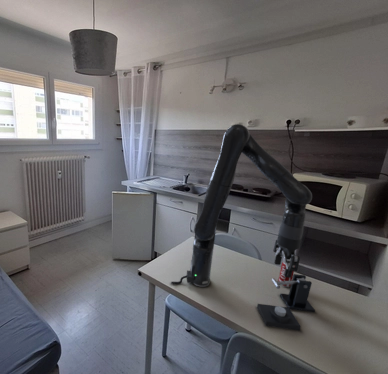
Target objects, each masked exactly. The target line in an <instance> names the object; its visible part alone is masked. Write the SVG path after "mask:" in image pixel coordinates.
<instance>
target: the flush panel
mask: <svg viewBox="0 0 388 374" xmlns="http://www.w3.org/2000/svg"><path fill="white" fill-rule="evenodd" d="M276 306H277V305H271V304H263V303H257V307H256V309H257V311H258V313H259V315H260V318H261V319H262V323H264V326H265V327H269V328H270V327H271V328H278V329H285V330H292V331H300V330H301V328H302V327H301V326H302V325H301V324H300V323H299V320H297V318H296V316H295V314H293V312H292V310H291V309H289V308H288V307H287V306H280V305H279V306H280V307H283V308H284V309H285V310H286V315H285V316H284V317H281V316H279V315H277V314H276V313H275V307H276Z"/></svg>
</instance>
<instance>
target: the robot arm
mask: <svg viewBox="0 0 388 374" xmlns="http://www.w3.org/2000/svg"><path fill="white" fill-rule="evenodd" d="M242 154H243V155H244V156H245V157H247V159H249V161H250V162H251V163H252V164H253V165H254V166H255V167H256V168H257V170H258V171H259V172H260V173H261V174H262V175H263V176H264V177H265V178H266V179H267V180H268V181H269V182H270V183H271V184H273V185H274V186H275V187H276V188H277V189H278V190H279V191H280V192H281V193H282V194H283V195H284V197H285V203H284V205H285V206H284V210H283V213H282V218H281V223H280V226H279V230H278V234H277V239H275V242H274V246H273V250H272V251H273V253H274V255H275V258H274V263H273V264H275V265H276V266H280V265H282V259H283V261H284V263H286V269H285V274H284V276H285V277H288V278H290V277H291V275H292V271H294V272H298V271H299V264H300V259H301V258H300V256H298V255H296V250H299V249H300V247H301V243H302V238H303V235H304V226H305V222H306V217H307V214H306V208H307V206H308V205H309V204H310V203H311V202H312V200H313V193H312V192H311V190H310V189H309V187H308V186H306V185H305V184H303V183H302V182H301V181H299V180H298V179H297V178H295V176H294V174H293V173H292V172H291V171H289V169H287V168H286V167H285V166H284V165H283V164H282V163H281V162H280V161H279V160H278V159H276V158H275V157H274V156H273V155H271V154H270V153H269V152H268V151H266V150H265V148H263V147H262V146H261V145H260V144H259V143H258V142H257V140H256V139H255V137H253V136H252V134H251V133H250V130H249V128H247V127H246V126H245V125H243V124H241V123H235V124H232V125H230V126H229V127H227V128H226V129H225V131H224V133H223V137H222V142H221V147H220V151H219V155H218V158H217V161H216V163H215V165H214V168H213V169H212V173H211V175H210V177H209V182H208V184H207V188H206V191H205V194H204V199H203V204H202V210H201V212H200V214H199V216H198V218H197V220H196V221H195V224H194V227H193V233H194V238H193V244H192V255H191V259H190V267H189V268H190V269H189V270H188V269H187V270H186V275H182V276H181V277H180V280H179V281H171V282H170V284H171V285H179V284H182V283H183V280H184V279H186V283H189V284H190V285H191V284H192V285H194V286H196V287H199V288H206V287H208V286H209V285H210V282H211V273H212V272H211V271H212V264H213V255H214V248H215V242H216V241H215V240H216V233H217V224H218V221H219V217H220V214H221V212H222V210H223V208H224V207H225V204H226V202H227V200H228V197H229V195H230V192H231V190H232V187H233V184H234V181H235V176H236V171H237V166H238V162H239V161H240V160H239V159H240V157H241V155H242ZM287 260H289V261H287ZM288 263H290V265H289V264H288ZM294 266H295V268H294Z"/></svg>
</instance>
